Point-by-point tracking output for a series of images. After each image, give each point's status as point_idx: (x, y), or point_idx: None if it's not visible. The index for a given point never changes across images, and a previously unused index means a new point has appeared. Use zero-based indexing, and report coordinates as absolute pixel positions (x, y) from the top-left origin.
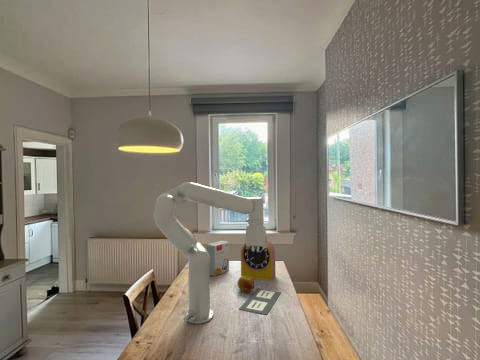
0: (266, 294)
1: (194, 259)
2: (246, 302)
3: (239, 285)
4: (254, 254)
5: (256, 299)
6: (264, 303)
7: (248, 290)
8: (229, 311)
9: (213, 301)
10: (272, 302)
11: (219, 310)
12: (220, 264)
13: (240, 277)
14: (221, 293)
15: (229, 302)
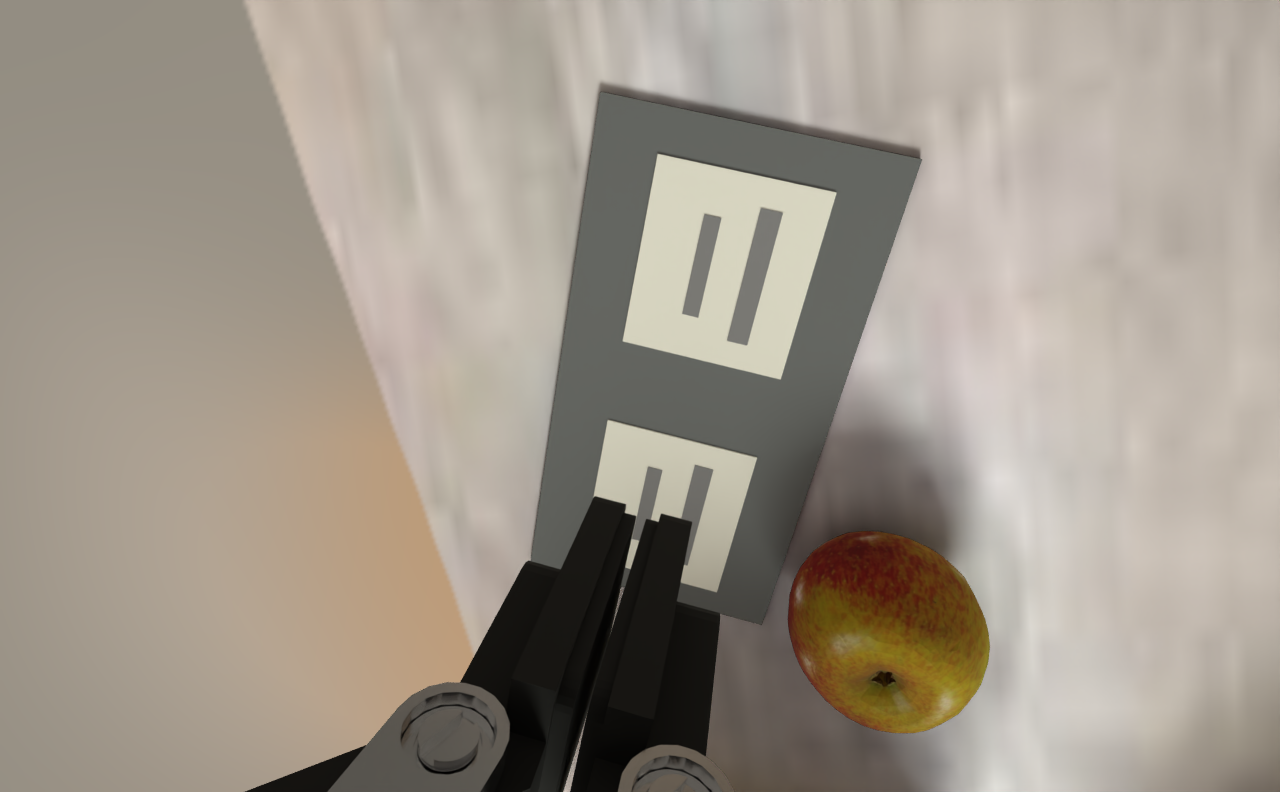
0: (655, 505)
1: None
2: (845, 319)
3: (960, 581)
4: (645, 630)
5: (743, 397)
6: (651, 320)
7: (843, 535)
8: (1036, 89)
9: (1267, 305)
10: (578, 355)
11: (1175, 88)
12: None
13: (967, 684)
14: (1162, 505)
15: (1049, 307)
